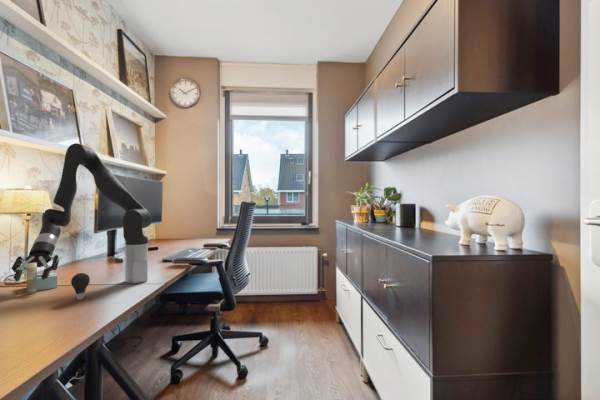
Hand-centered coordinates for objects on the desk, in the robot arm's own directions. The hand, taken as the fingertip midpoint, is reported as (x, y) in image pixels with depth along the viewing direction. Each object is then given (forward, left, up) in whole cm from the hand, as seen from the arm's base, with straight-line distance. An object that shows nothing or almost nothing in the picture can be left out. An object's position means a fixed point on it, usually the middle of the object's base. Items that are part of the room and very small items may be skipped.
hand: (29, 279), depth 119 cm
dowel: (+1, -1, -6) cm, 6 cm away
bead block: (+9, -5, -6) cm, 12 cm away
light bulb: (-22, -13, -6) cm, 26 cm away
